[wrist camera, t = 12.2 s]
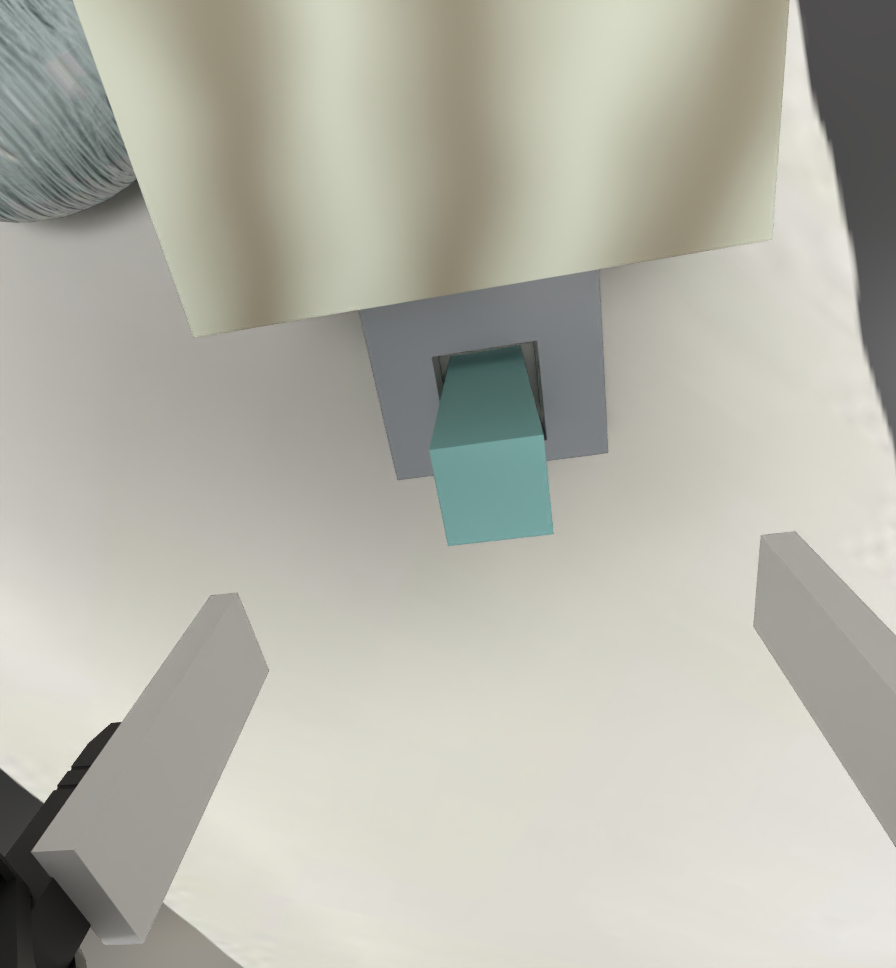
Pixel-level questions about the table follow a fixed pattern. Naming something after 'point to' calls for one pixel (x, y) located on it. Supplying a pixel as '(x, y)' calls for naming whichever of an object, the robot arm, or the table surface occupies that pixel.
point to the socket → (486, 324)
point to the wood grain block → (436, 141)
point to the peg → (490, 451)
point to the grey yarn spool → (53, 116)
